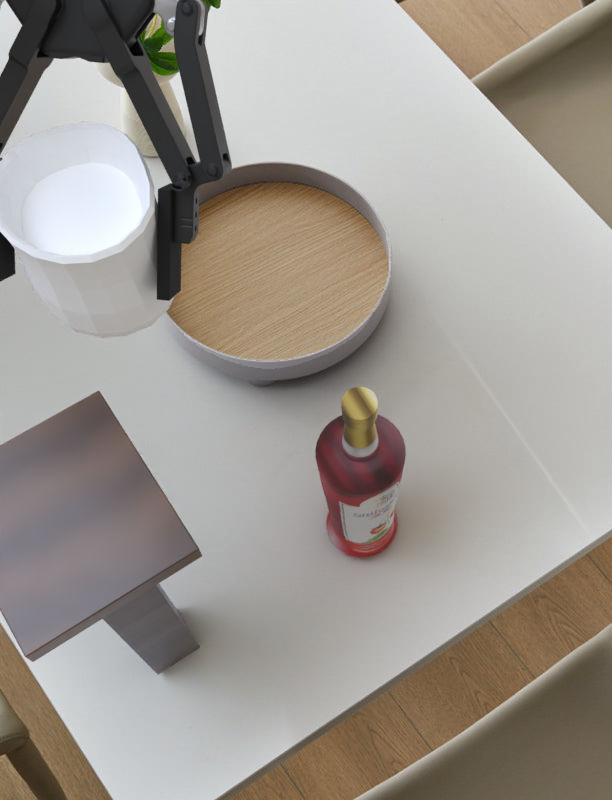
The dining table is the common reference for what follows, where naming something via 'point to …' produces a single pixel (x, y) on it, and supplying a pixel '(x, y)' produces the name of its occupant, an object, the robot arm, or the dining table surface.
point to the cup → (85, 227)
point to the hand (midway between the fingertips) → (84, 286)
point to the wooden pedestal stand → (88, 538)
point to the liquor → (361, 475)
